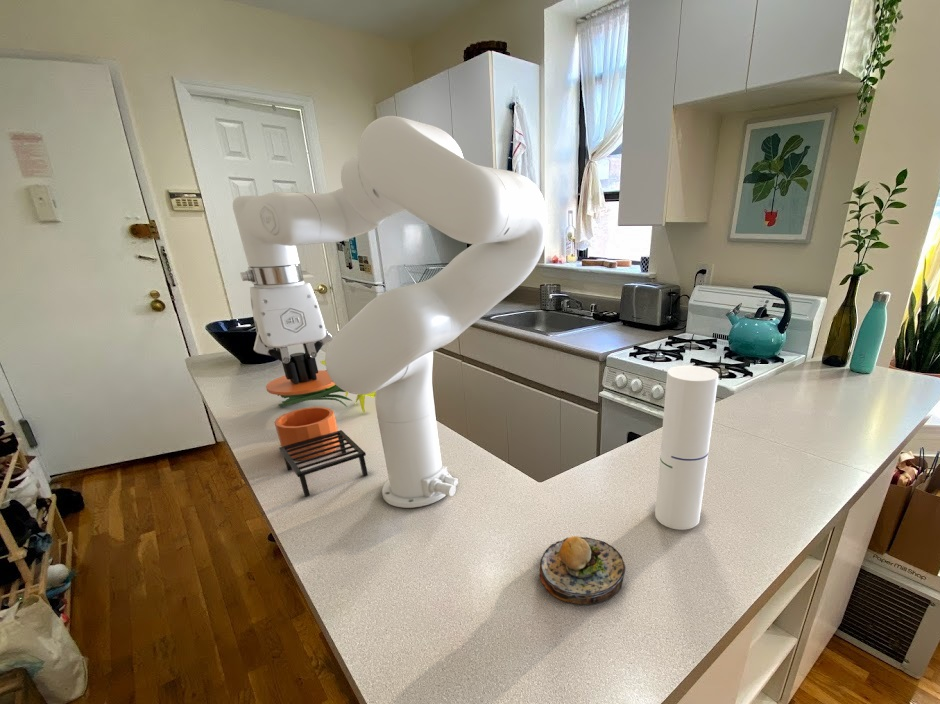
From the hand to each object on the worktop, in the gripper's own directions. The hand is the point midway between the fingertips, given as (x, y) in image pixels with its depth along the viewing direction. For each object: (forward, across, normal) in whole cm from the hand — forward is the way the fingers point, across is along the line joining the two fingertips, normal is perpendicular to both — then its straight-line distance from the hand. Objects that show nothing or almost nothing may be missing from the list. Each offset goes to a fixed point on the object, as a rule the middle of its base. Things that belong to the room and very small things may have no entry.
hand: (303, 379), depth 85 cm
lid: (+1, 0, 0) cm, 1 cm away
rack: (+19, 0, -1) cm, 19 cm away
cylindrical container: (+20, +37, -58) cm, 71 cm away
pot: (+19, +1, +12) cm, 23 cm away
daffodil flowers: (+19, +12, +33) cm, 40 cm away
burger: (+20, +16, -56) cm, 61 cm away
